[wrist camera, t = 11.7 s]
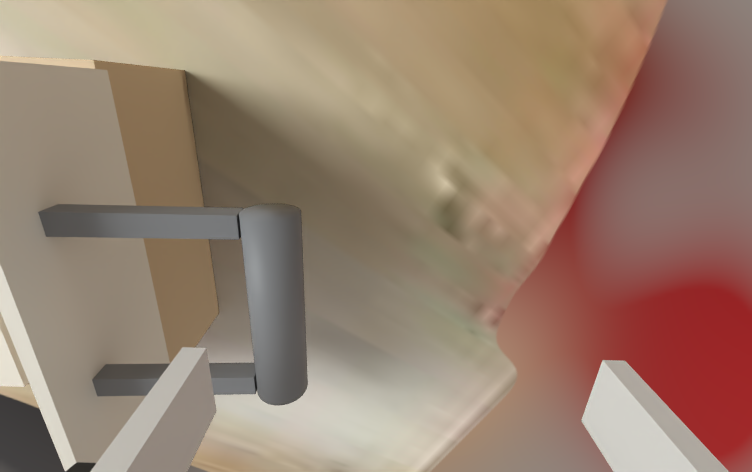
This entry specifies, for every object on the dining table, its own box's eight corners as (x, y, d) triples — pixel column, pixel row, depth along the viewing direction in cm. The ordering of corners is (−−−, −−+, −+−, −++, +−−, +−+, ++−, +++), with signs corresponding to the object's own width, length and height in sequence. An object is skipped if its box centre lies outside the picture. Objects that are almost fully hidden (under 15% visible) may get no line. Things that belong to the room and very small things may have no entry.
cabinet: (-50, 60, 25) (-282, 42, 16) (184, 70, 25) (83, 59, 16) (39, 307, 32) (-87, 388, 23) (219, 312, 33) (162, 394, 24)
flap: (-105, 52, 10) (283, 70, 10) (93, 69, 17) (312, 79, 18) (82, 514, 17) (304, 505, 17) (165, 384, 24) (318, 382, 25)
